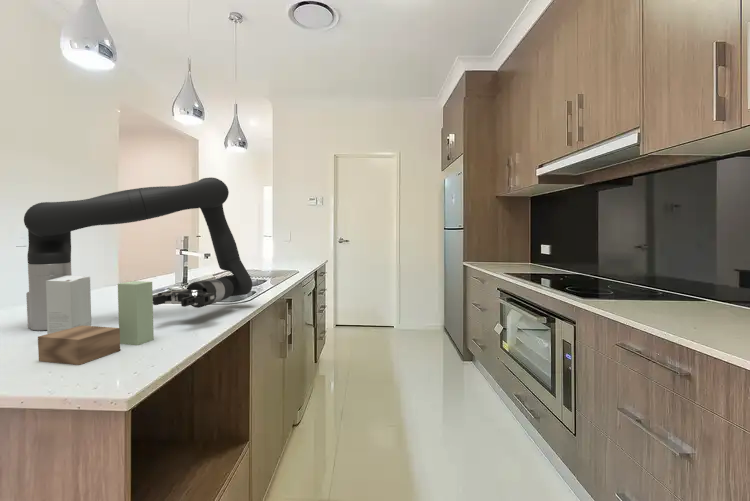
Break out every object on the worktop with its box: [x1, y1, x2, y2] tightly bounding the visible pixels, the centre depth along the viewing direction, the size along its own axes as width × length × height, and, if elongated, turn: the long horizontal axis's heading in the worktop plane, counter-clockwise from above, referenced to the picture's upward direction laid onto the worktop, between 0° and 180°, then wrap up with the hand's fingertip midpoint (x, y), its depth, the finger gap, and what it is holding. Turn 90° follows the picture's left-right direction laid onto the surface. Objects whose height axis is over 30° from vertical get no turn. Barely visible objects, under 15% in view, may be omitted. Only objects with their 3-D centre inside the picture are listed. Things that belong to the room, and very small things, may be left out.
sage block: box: [117, 280, 155, 346], centre depth 101 cm, size 5×5×14 cm
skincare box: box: [46, 275, 92, 334], centre depth 104 cm, size 8×6×15 cm
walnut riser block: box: [37, 325, 121, 366], centre depth 90 cm, size 10×10×5 cm
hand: (168, 302), depth 111 cm, fingers open, 8 cm apart
